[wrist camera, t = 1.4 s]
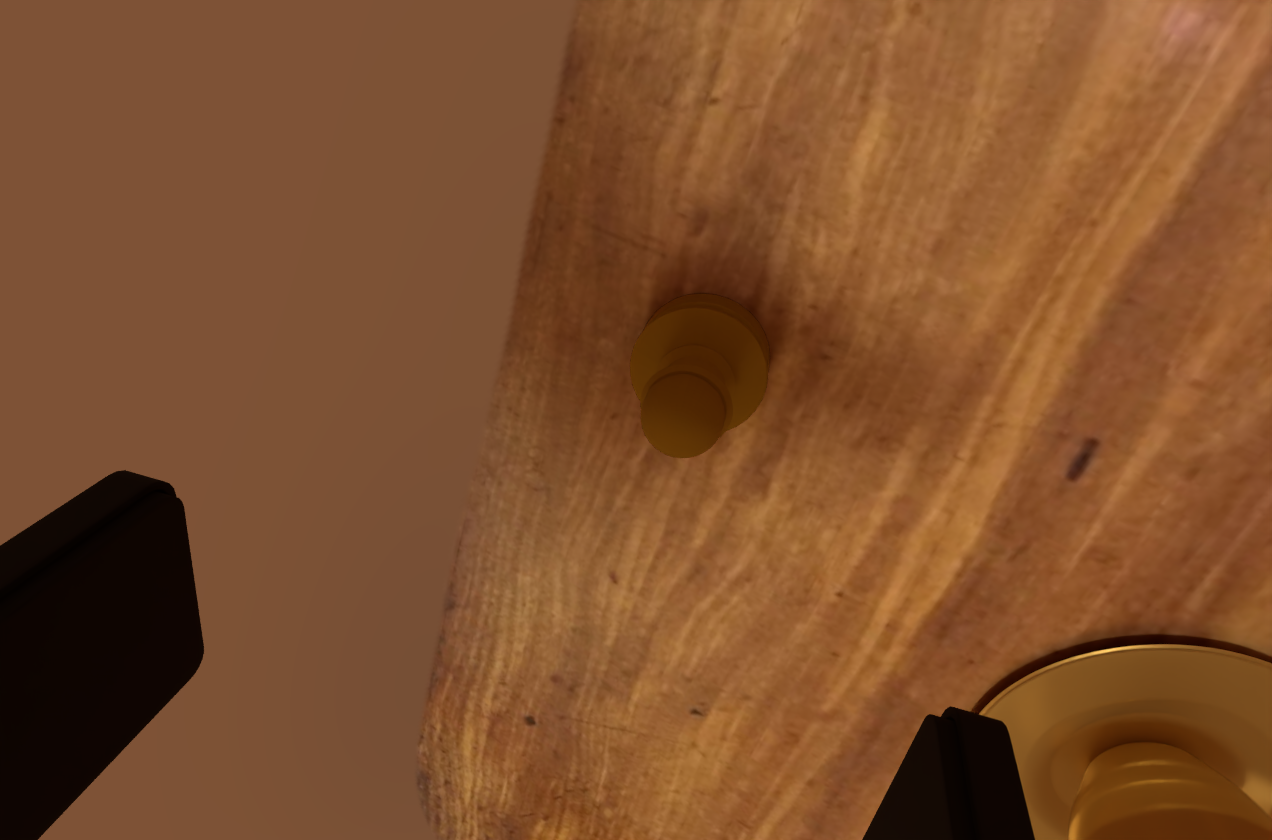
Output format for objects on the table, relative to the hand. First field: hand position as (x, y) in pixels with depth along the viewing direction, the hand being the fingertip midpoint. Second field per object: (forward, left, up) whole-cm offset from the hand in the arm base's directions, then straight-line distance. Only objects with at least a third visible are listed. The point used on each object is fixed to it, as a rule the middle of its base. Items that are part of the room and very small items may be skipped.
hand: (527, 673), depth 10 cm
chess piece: (+2, -1, -15) cm, 15 cm away
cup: (+23, 0, -15) cm, 27 cm away
